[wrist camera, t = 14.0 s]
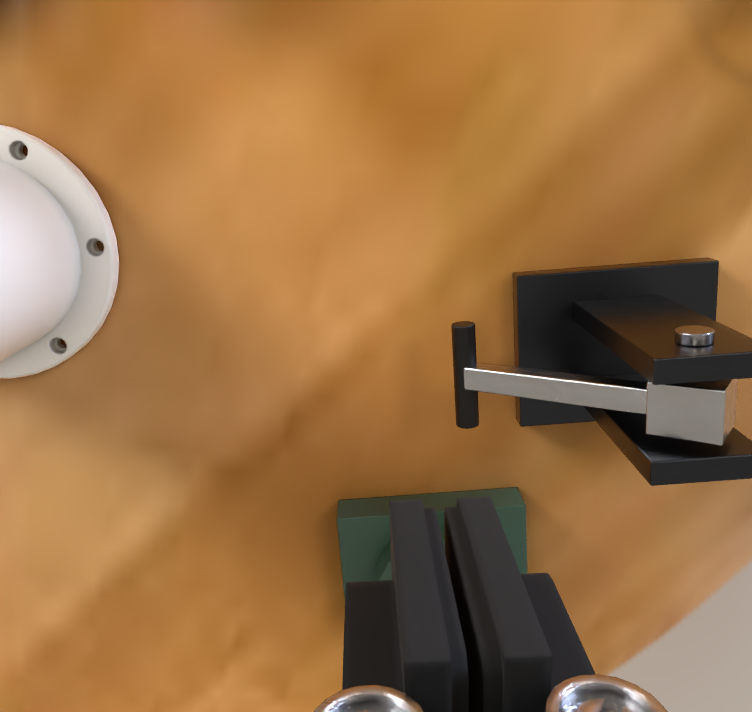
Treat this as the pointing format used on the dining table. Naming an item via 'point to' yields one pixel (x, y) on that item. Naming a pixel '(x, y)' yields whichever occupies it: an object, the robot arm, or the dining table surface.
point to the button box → (372, 517)
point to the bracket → (633, 353)
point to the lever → (596, 394)
